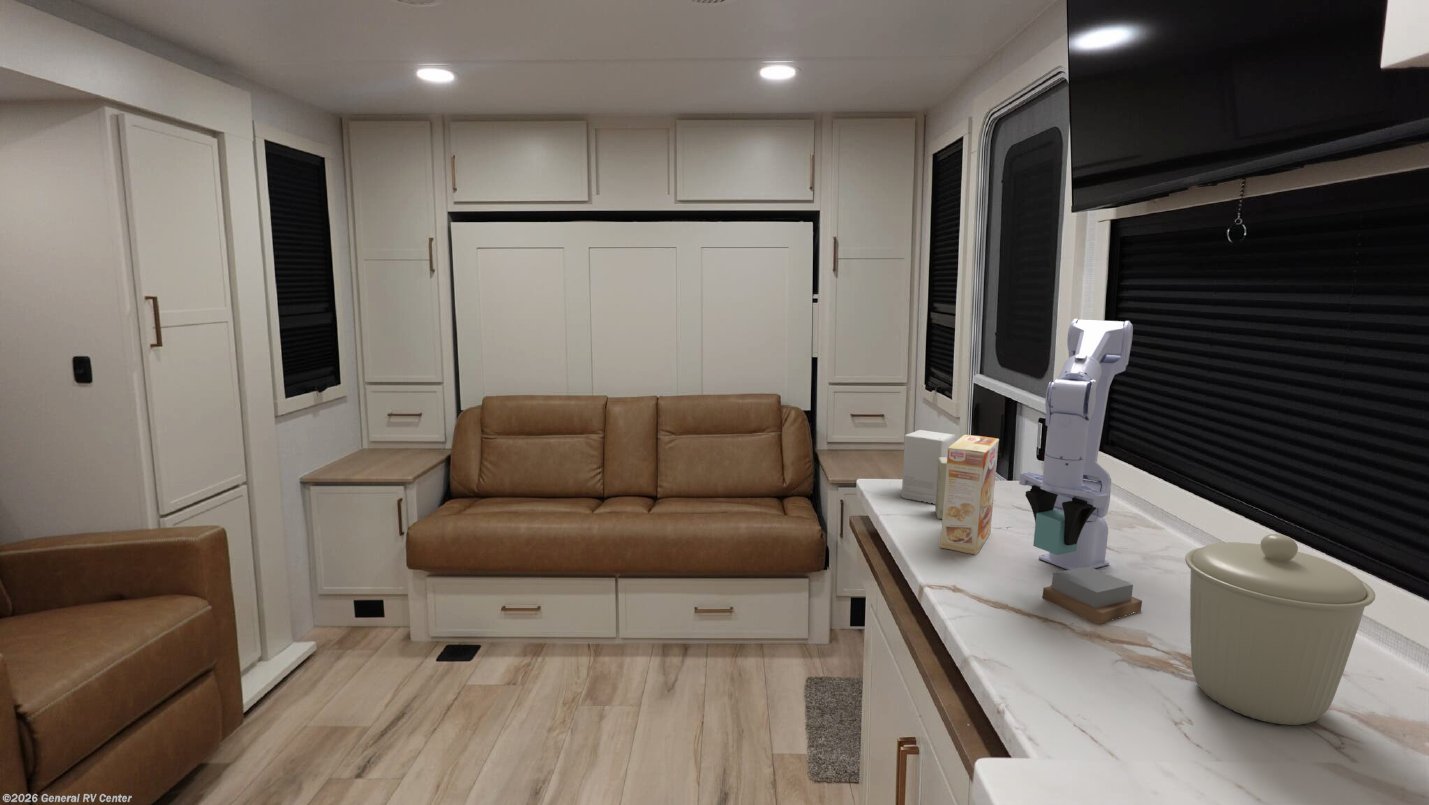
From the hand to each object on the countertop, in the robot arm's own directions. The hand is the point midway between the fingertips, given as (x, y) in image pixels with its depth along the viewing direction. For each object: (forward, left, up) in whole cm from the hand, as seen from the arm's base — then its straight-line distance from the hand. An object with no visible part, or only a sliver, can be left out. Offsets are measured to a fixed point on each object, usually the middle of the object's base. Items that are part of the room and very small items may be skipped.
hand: (1056, 539), depth 121 cm
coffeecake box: (-7, -25, -10) cm, 28 cm away
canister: (+5, +32, -10) cm, 34 cm away
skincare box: (-15, -38, -10) cm, 42 cm away
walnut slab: (-2, +5, -10) cm, 12 cm away
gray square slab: (-2, +5, -8) cm, 10 cm away
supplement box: (-21, -50, -10) cm, 55 cm away
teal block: (0, 0, -2) cm, 2 cm away
